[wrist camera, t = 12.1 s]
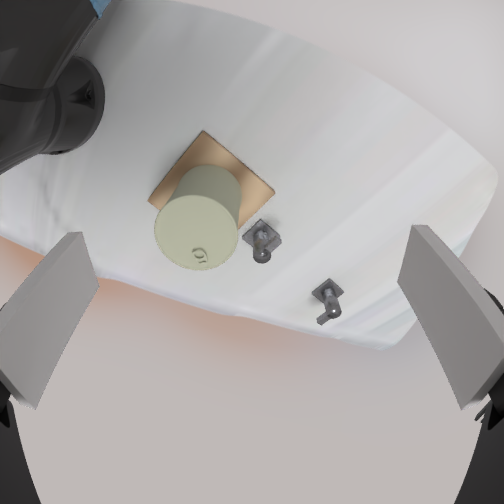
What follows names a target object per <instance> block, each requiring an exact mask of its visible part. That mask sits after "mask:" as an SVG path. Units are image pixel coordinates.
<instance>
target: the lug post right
mask: <svg viewBox="0 0 504 504" xmlns="http://www.w3.org/2000/svg"><path fill="white" fill-rule="evenodd" d="M343 293H344V291H343V290H342V289H341V288H340V287H339V286H338V285H336V284H335V283H334V282H333V281H332V280H331V279H330V278H329V279H328V280H327V281H326V282H324V283H323V284H322V285H321V286H319V287H318V288H317V289H316V290H314V291H313V292H312V295H314V296H315V297H316V298H317V299H319V300H320V301H321V302H322V303H324V305H325V309H326V312H325V313H323V314H322V315H321V316H319V317H318V318H316V319H317V323H318V324H320V325H322V324H324V323H325V322H327V321H328V320H329V319H334V318H337V317H339V316H340V315H341V308H340V305H339V302H338V299H337V298H338V297H339V296H340V295H342V294H343Z"/></svg>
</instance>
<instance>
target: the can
mask: <svg viewBox="0 0 504 504" xmlns="http://www.w3.org/2000/svg"><path fill="white" fill-rule="evenodd" d="M241 202H242V191H241V187H240V185H239V183H238V181H237V179H236V178H235V177H234V176H233V175H232V174H231V173H230V172H229V171H228V170H226V169H224V168H222V167H219V166H216V165H201V166H197V167H194V168H192V169H191V170H189V171H188V172H187V173H185V175H184V176H183V177H182V178H181V180H180V181H179V184H178V186H177V188H176V189H175V191H174V192H173V194H172V195H171V197H170V198H169V200H168V201H167V203H166V204H165V205H164V206H163V208H162V209H161V210H160V212H159V213H158V215H157V218H156V221H155V227H154V233H155V239H156V242H157V244H158V246H159V248H160V250H161V251H162V253H163V254H164V255H165V256H166V257H167V258H168V259H169V260H170V261H172V262H173V263H175V264H177V265H179V266H181V267H183V268H186V269H191V270H208V269H212V268H215V267H217V266H219V265H221V264H223V263H224V262H225V261H227V260H228V259H229V258H230V257H231V255H232V254H233V252H234V250H235V248H236V246H237V242H238V220H239V210H240V206H241Z"/></svg>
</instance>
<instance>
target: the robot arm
mask: <svg viewBox="0 0 504 504" xmlns="http://www.w3.org/2000/svg"><path fill="white" fill-rule="evenodd" d="M110 2H111V0H0V175H1V174H2V173H4V172H6V171H7V170H9V169H11V168H13V167H14V166H16V165H18V164H20V163H21V162H23V161H25V160H27V159H29V158H31V157H33V156H35V155H37V154H51V155H58V154H64V153H67V152H69V151H72V150H74V149H76V148H78V147H79V146H81V145H83V144H84V143H85V142H86V141H87V140H88V139H89V138H90V137H91V136H92V135H93V133H94V132H95V130H96V128H97V127H98V125H99V122H100V120H101V117H102V113H103V109H104V98H105V97H104V87H103V83H102V80H101V77H100V75H99V73H98V71H97V70H96V68H95V67H94V66H93V65H92V64H91V63H90V62H88V61H87V60H85V59H83V58H81V57H77V56H73V54H74V53H75V51H76V50H77V48H78V47H79V45H80V44H81V42H82V41H83V39H84V38H85V36H86V35H87V33H88V32H89V31H90V29H91V28H92V27H93V25H94V24H95V22H96V21H97V20H99V19H100V18H101V17H102V12H103V11H104V10H105V8H106V7H107V6H108V4H109V3H110ZM397 282H398V284H399V286H400V287H401V289H402V291H403V292H404V294H405V296H406V298H407V300H408V301H409V303H410V305H411V307H412V309H413V310H414V312H415V314H416V316H417V318H418V320H419V321H420V323H421V325H422V327H423V329H424V331H425V333H426V335H427V337H428V339H429V341H430V343H431V345H432V347H433V349H434V351H435V353H436V355H437V357H438V359H439V361H440V363H441V365H442V367H443V369H444V372H445V374H446V376H447V378H448V380H449V383H450V385H451V387H452V390H453V391H454V394H455V396H456V399H457V401H458V403H459V406H460V408H461V410H464V409H467V408H469V407H472V406H475V405H478V404H479V403H480V402H481V401H482V400H483V398H484V397H485V396H486V395H487V394H489V396H490V398H491V400H490V401H489V402H488V404H487V405H486V406H485V407H484V408H483V409H482V410H481V411H480V412H479V413H478V414H477V416H476V418H475V420H476V421H477V420H478V419H479V418H480V417H481V416H482V415H483V414H484V413H485V414H484V418H483V419H482V420H481V423H482V427H481V430H480V434H479V437H478V441H477V444H476V448H475V450H474V454H473V457H472V460H471V462H470V465H469V468H468V471H467V474H466V476H465V479H464V482H463V484H462V486H461V489H460V491H459V494H458V496H457V498H456V501H455V503H454V504H504V309H503V306H502V305H501V304H500V302H499V301H498V300H497V299H496V297H495V296H493V295H492V294H491V293H490V292H488V291H487V290H486V289H483V287H482V286H481V285H480V284H479V282H478V281H477V280H476V279H475V278H474V276H473V275H472V274H471V273H470V271H469V270H468V269H467V268H466V267H465V266H464V264H463V263H462V262H461V261H460V260H459V259H458V258H457V256H456V255H455V254H454V253H453V252H452V251H451V250H450V249H449V248H448V246H447V245H446V244H445V243H444V242H443V241H442V240H441V239H440V238H439V237H438V236H437V235H436V234H435V233H434V232H433V231H432V229H431V228H430V227H429V226H428V225H412V226H411V231H410V235H409V239H408V243H407V248H406V252H405V255H404V259H403V263H402V267H401V270H400V274H399V277H398V281H397ZM98 288H99V283H98V280H97V277H96V275H95V272H94V269H93V266H92V263H91V260H90V257H89V254H88V250H87V247H86V244H85V241H84V237H83V234H82V232H70V233H67V234H66V235H65V236H64V237H63V238H62V239H61V240H60V241H59V242H58V243H57V244H56V246H55V247H54V248H53V249H52V250H51V251H50V252H49V253H48V254H47V255H46V256H45V257H44V259H43V260H42V261H41V262H40V263H39V264H38V265H37V266H36V268H35V269H34V270H33V271H32V272H31V273H30V275H29V276H28V277H27V278H26V279H25V280H24V282H23V283H22V284H21V285H20V287H19V288H18V289H17V291H16V292H15V293H14V294H13V295H12V297H11V298H10V299H9V300H8V302H7V303H5V304H4V305H3V307H2V308H1V310H0V504H41V502H40V500H39V497H38V495H37V492H36V489H35V486H34V484H33V481H32V478H31V475H30V472H29V469H28V466H27V462H26V459H25V456H24V452H23V448H22V444H21V441H20V436H19V432H18V428H17V423H16V419H15V414H14V409H13V405H12V403H11V402H10V401H9V400H8V399H9V397H10V395H11V394H12V395H13V397H14V398H15V399H16V400H17V401H18V402H19V403H20V404H21V405H24V406H27V407H29V408H32V409H36V408H37V405H38V403H39V401H40V399H41V396H42V394H43V391H44V390H45V387H46V385H47V383H48V381H49V379H50V377H51V375H52V372H53V370H54V368H55V366H56V364H57V362H58V360H59V358H60V356H61V354H62V352H63V351H64V349H65V347H66V344H67V343H68V341H69V339H70V337H71V335H72V334H73V332H74V330H75V328H76V326H77V324H78V323H79V321H80V319H81V317H82V315H83V314H84V312H85V310H86V309H87V307H88V305H89V303H90V302H91V300H92V298H93V297H94V295H95V293H96V292H97V290H98Z"/></svg>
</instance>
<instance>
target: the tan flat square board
mask: <svg viewBox="0 0 504 504" xmlns="http://www.w3.org/2000/svg"><path fill="white" fill-rule="evenodd" d="M201 165H216V166H219V167H222V168H224V169H226V170H228V171H229V172H230V173H231V174H232V175H233V176H234V177H235V178H236V179H237V181H238V183H239V185H240V187H241V191H242V202H241V206H240V210H239V220H238V229H239V228H240V227H241V226H242V225H243V224H244V223H245V222H246V221H247V220H248V219H250V218H251V217H252V216H253V215H254V214H255V213H256V212H257V211H258V210H259V209H260V208H261V207H262V206H263V205H264V204H265V203H266V202H267V201H268V200H269V199H270V198H271V197H272V196H273V195H274V194H275V191H274V190H273V189H272V188H271V187H269V186H268V185H267V184H266V183H265V182H264V181H263V180H261V179H260V178H259V177H258V176H257V175H256V174H255V173H253V172H252V171H251V170H250V169H249V168H248V167H247V166H245V165H244V164H243V163H242V162H241V161H240V160H238V159H237V158H236V157H235V156H234V155H232V154H231V153H230V152H229V151H228V150H227V149H225V148H224V147H223V146H222V145H221V144H219V143H218V142H217V141H216V140H214V139H213V138H212V137H211V136H210V135H208V134H207V133H206V132H205V131H203V132H202V133H201V134H200V135H199V136H198V138H197V139H196V140H195V141H194V142H193V144H192V145H191V146H190V147H189V148H188V149H187V151H186V152H185V153H184V154H183V155H182V157H181V158H180V159H179V160H178V162H177V163H176V164H175V165H174V167H173V168H172V169H171V170H170V172H169V173H168V174H167V175H166V177H165V178H164V179H163V181H162V182H161V183H160V184H159V186H158V187H157V188H156V190H155V191H154V192H153V194H152V195H151V196H150V198H149V199H148V200H147V201H148V202H150V203H151V204H152V205H154V206H155V207H156V208H157V209H159V210H161V209H162V208H163V206H164V205H165V204H166V203H167V201H168V200H169V198H170V197H171V195H172V194H173V192H174V191H175V189H176V188H177V186H178V184H179V181H180V180H181V178H182V177H183V176H184V175H185V173H187V172H188V171H189V170H191V169H192V168H194V167H197V166H201Z"/></svg>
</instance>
